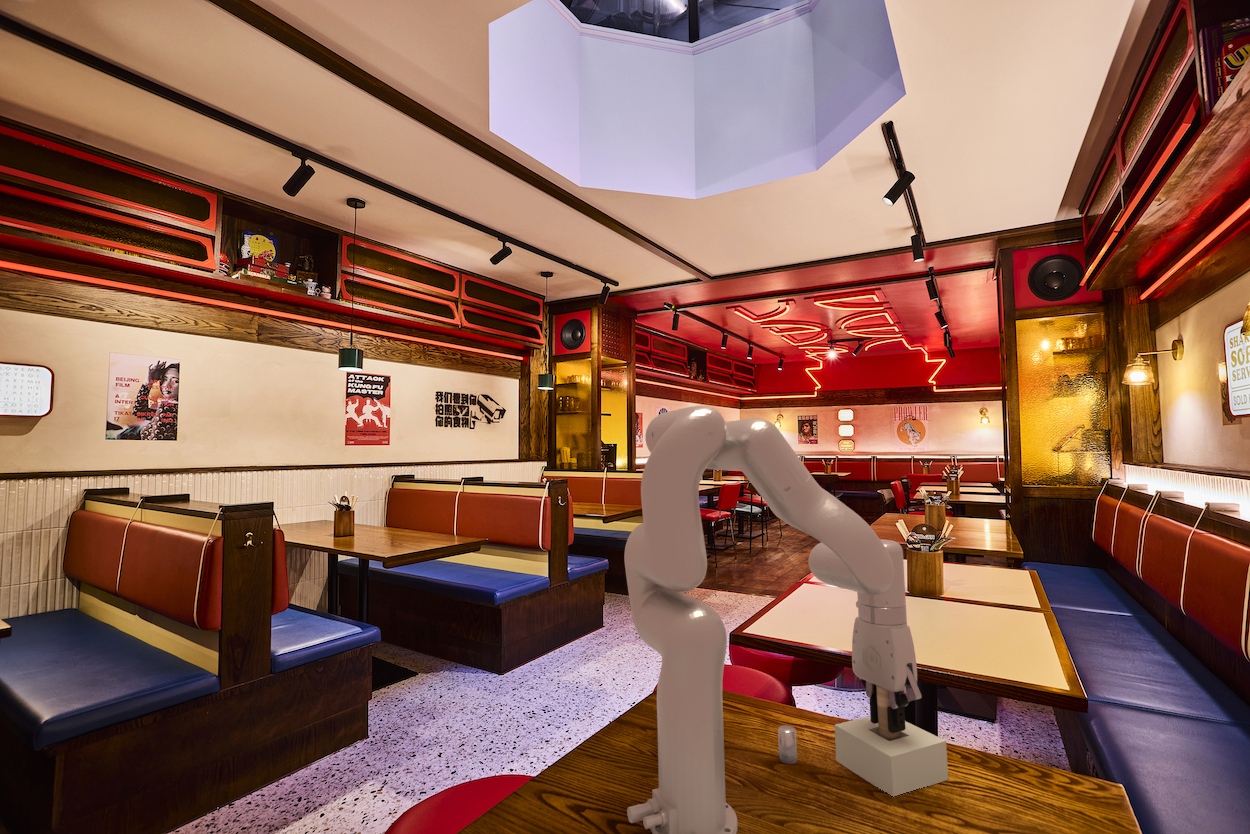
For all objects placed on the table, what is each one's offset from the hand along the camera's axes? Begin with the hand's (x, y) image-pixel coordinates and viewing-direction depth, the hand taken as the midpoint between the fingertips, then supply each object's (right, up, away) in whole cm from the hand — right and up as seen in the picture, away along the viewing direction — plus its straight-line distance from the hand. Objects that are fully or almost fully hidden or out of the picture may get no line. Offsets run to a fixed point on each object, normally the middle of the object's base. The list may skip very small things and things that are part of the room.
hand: (887, 725), depth 96 cm
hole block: (0, -7, -1) cm, 7 cm away
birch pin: (0, -3, 0) cm, 3 cm away
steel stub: (-16, -8, +4) cm, 18 cm away
